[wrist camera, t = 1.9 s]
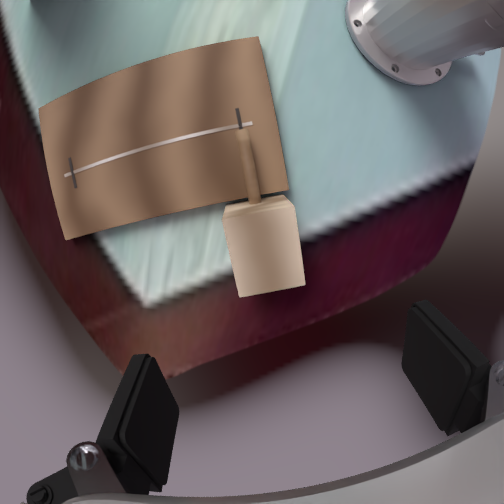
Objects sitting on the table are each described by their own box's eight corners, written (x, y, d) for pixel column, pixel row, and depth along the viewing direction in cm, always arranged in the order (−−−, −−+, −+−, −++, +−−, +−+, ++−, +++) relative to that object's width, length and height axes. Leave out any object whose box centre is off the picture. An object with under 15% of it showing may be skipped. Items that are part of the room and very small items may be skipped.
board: (257, 41, 21) (258, 36, 20) (286, 188, 26) (289, 189, 25) (44, 109, 22) (38, 108, 21) (71, 237, 26) (65, 240, 25)
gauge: (270, 126, 24) (279, 119, 18) (292, 257, 28) (305, 284, 22) (212, 137, 24) (203, 132, 18) (239, 267, 28) (239, 297, 22)
